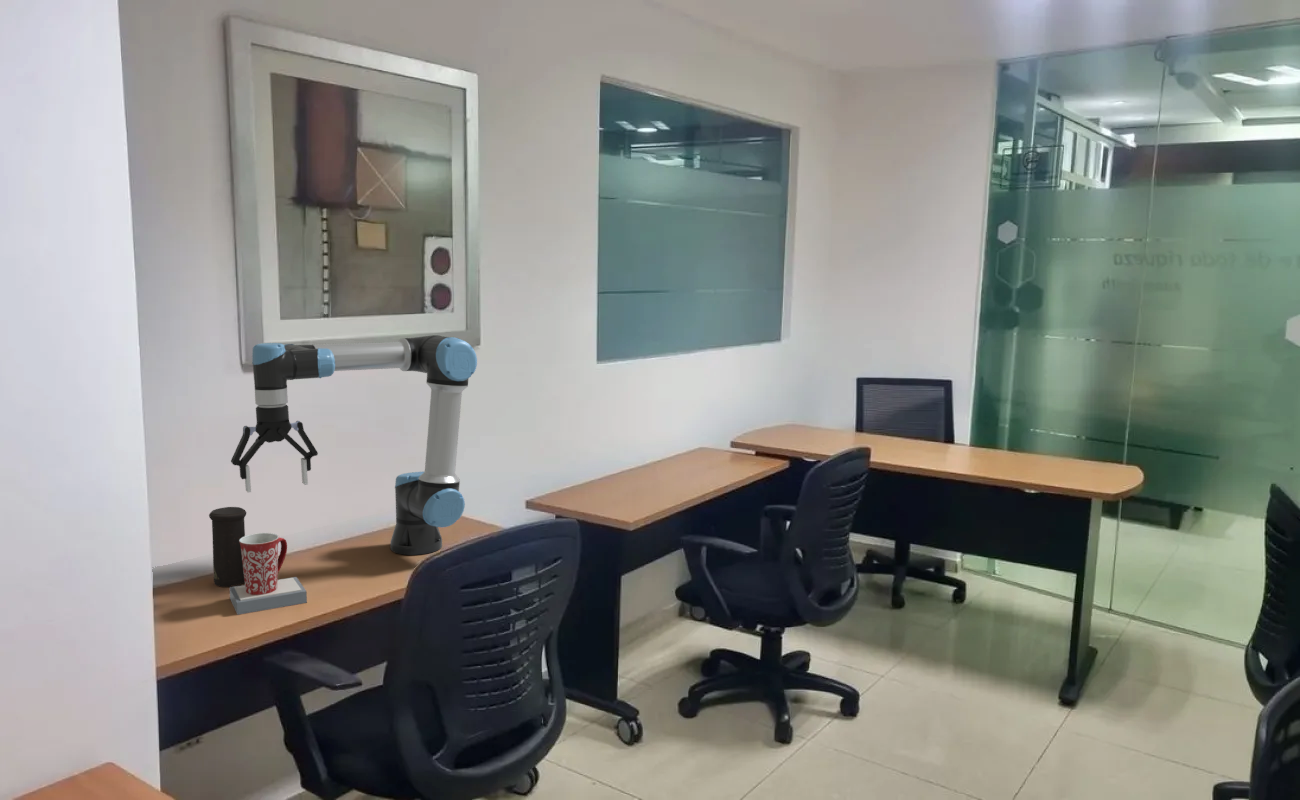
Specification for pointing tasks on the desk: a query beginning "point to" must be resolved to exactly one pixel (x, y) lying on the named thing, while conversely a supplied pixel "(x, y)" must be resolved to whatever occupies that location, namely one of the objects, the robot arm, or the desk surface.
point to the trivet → (269, 597)
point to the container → (228, 545)
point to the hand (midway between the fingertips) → (277, 487)
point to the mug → (261, 561)
